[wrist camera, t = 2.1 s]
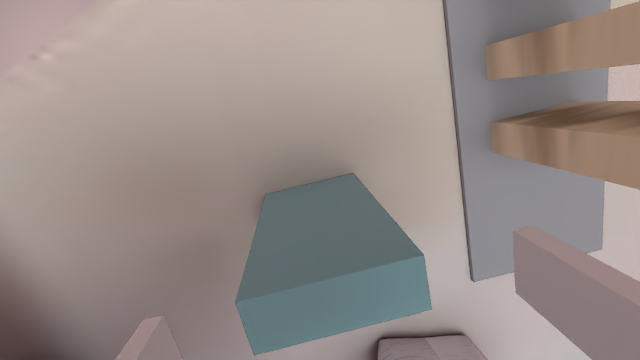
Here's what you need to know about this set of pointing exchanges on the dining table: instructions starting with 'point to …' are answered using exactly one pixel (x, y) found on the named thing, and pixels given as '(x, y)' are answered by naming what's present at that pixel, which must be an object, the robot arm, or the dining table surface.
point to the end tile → (327, 266)
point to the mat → (507, 101)
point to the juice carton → (429, 349)
